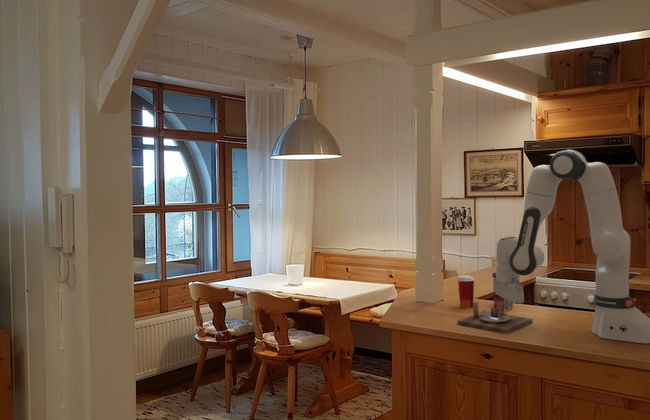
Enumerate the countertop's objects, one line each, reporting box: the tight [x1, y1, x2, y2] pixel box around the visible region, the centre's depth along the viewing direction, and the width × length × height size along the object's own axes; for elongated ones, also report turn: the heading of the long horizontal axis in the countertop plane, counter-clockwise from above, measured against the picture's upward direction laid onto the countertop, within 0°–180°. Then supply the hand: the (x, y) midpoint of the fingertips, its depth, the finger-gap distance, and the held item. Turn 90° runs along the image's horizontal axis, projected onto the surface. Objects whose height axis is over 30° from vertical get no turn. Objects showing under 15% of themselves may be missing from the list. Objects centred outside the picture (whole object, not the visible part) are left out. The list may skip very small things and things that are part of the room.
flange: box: [479, 302, 510, 323], centre depth 235 cm, size 15×12×5 cm
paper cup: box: [456, 274, 475, 309], centre depth 262 cm, size 8×8×14 cm
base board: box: [456, 301, 533, 335], centre depth 234 cm, size 22×20×8 cm
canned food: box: [493, 287, 504, 308], centre depth 261 cm, size 8×8×11 cm
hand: (508, 309), depth 237 cm, fingers closed
